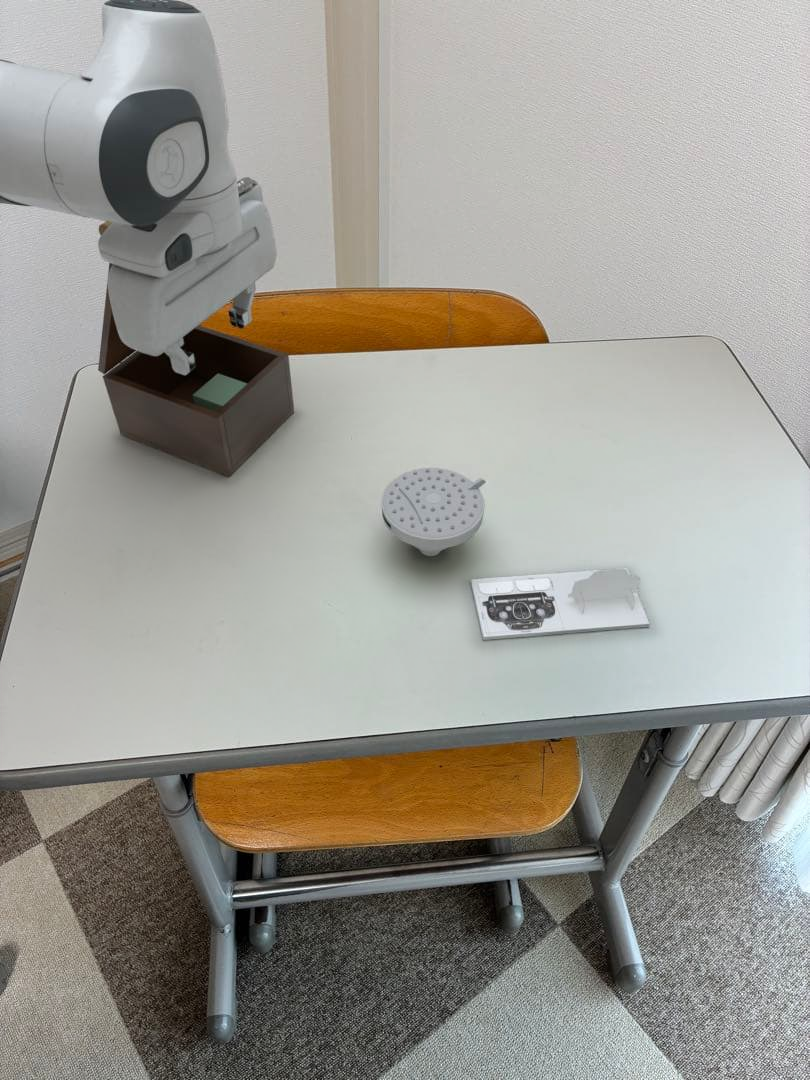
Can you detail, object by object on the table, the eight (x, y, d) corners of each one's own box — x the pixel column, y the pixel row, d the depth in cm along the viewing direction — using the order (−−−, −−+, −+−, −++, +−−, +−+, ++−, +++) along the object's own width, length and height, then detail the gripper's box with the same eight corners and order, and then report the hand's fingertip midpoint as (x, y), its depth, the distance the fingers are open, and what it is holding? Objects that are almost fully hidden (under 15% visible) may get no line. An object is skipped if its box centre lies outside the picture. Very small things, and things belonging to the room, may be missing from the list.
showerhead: (510, 510, 71) (408, 544, 68) (501, 564, 76) (406, 597, 73) (461, 447, 76) (365, 475, 73) (456, 501, 82) (366, 529, 79)
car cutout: (626, 570, 76) (637, 538, 72) (648, 626, 71) (661, 594, 68) (470, 582, 74) (474, 549, 71) (482, 640, 70) (487, 608, 66)
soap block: (227, 407, 83) (192, 395, 84) (233, 440, 86) (199, 428, 88) (251, 384, 86) (217, 373, 87) (256, 418, 89) (223, 406, 90)
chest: (294, 412, 91) (288, 354, 85) (229, 477, 83) (217, 418, 78) (191, 376, 96) (179, 318, 90) (120, 435, 88) (102, 376, 82)
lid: (205, 205, 77) (162, 173, 77) (117, 260, 70) (69, 225, 70) (181, 317, 90) (144, 290, 89) (104, 374, 82) (63, 345, 82)
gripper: (230, 163, 78) (247, 292, 88) (82, 250, 65) (122, 389, 75) (284, 176, 76) (296, 307, 86) (143, 269, 63) (176, 409, 73)
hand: (214, 346), depth 81 cm, fingers open, 8 cm apart
